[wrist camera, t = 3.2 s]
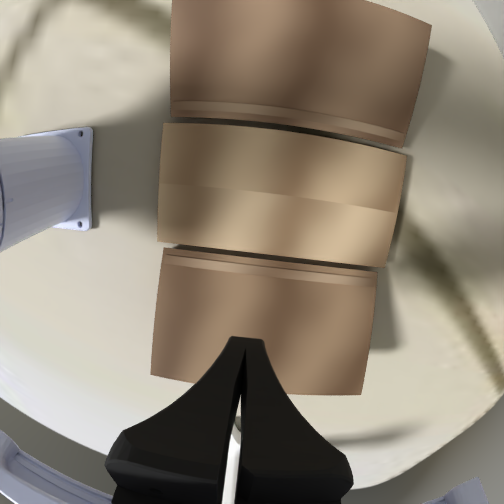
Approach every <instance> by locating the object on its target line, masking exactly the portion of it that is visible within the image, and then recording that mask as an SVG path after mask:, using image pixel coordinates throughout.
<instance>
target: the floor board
mask: <svg viewBox="0 0 504 504" xmlns="http://www.w3.org/2000/svg"><path fill="white" fill-rule="evenodd" d="M406 160H407V156H405V155H402V154H398V153H394V152H390V151H387V150H383V149H379V148H374V147H370V146H366V145H361V144H357V143H352V142H347V141H342V140H337V139H332V138H326V137H321V136H315V135H309V134H302V133H296V132H289V131H281V130H273V129H265V128H255V127H245V126H232V125H218V124H197V123H163V132H162V143H161V156H160V171H159V190H158V225H157V241H158V242H166V243H175V244H183V245H192V246H201V247H209V248H218V249H226V250H235V251H243V252H252V253H261V254H269V255H278V256H286V257H295V258H304V259H312V260H321V261H329V262H338V263H347V264H355V265H364V266H373V267H381V268H385V264H386V261H387V257H388V253H389V249H390V245H391V241H392V236H393V232H394V227H395V223H396V218H397V213H398V208H399V203H400V198H401V192H402V186H403V180H404V174H405V167H406Z"/></svg>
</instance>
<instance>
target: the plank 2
mask: <svg viewBox="0 0 504 504" xmlns="http://www.w3.org/2000/svg"><path fill="white" fill-rule="evenodd" d="M376 286H377V272H371V271H362V270H353V269H344V268H335V267H326V266H318V265H309V264H300V263H291V262H283V261H274V260H265V259H257V258H248V257H239V256H231V255H222V254H214V253H206V252H197V251H189V250H181V249H172V248H164V250H163V256H162V263H161V270H160V278H159V285H158V294H157V302H156V311H155V321H154V332H153V344H152V358H151V375H154V376H159V377H164V378H168V379H173V380H179V381H184V382H189V383H196V382H197V381H198V380H199V379H200V378H201V377H202V376H203V375H204V374H205V373H206V371H207V370H208V369H209V368H210V367H211V366H212V364H213V363H214V362H215V360H216V359H217V357H218V356H219V355H220V353H221V352H222V350H223V349H224V347H225V345H226V343H227V341H228V339H229V337H231V336H238V337H247V338H257V339H262V340H263V341H264V343H265V348H266V351H267V355H268V357H269V360H270V363H271V365H272V367H273V369H274V372H275V374H276V376H277V378H278V380H279V382H280V384H281V385H282V387H283V389H284V391H285V392H286V394H297V395H361V393H362V388H363V382H364V377H365V372H366V366H367V360H368V354H369V347H370V340H371V333H372V325H373V317H374V308H375V297H376Z"/></svg>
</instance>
